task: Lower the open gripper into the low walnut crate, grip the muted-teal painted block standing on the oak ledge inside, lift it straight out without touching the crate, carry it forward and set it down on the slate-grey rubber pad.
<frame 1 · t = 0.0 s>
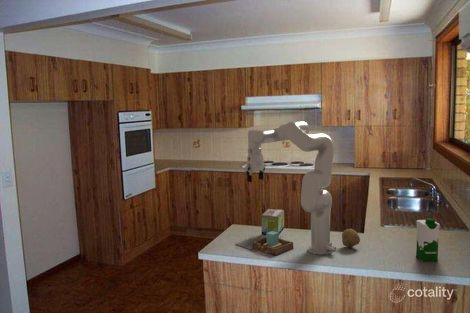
hand: (255, 180, 237), 31 cm above the worktop, fingers open, 9 cm apart
tea box: (273, 237, 231), on the worktop
natural sponge: (350, 248, 211), on the worktop
crate: (272, 248, 213), on the worktop
slate pad: (251, 244, 220), on the worktop
teal block: (272, 244, 213), point 2 cm above the worktop, touching crate
milk carton: (426, 258, 194), on the worktop
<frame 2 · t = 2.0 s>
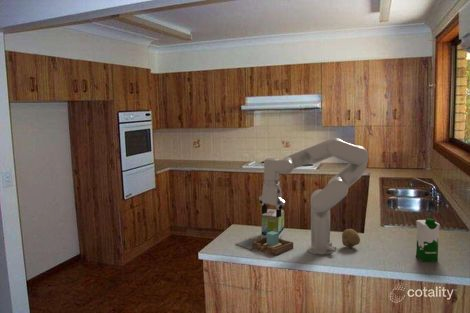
hand: (271, 215, 211), 18 cm above the worktop, fingers open, 9 cm apart
nothing on the worktop moved.
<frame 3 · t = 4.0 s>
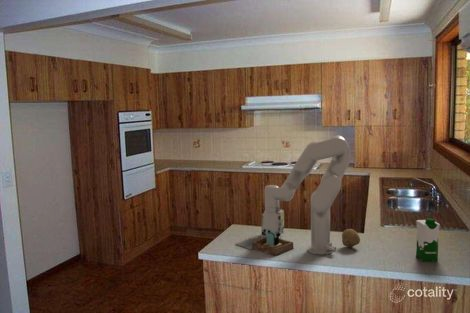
hand: (272, 242, 213), 3 cm above the worktop, fingers closed on teal block, 4 cm apart
teal block: (272, 244, 213), point 3 cm above the worktop, touching crate, gripper
everything else where it was.
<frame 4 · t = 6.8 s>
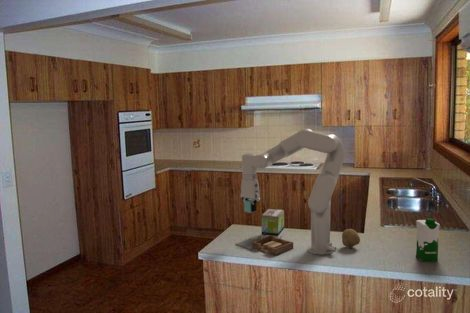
hand: (250, 210, 218), 19 cm above the worktop, fingers closed on teal block, 4 cm apart
teal block: (250, 211, 218), point 18 cm above the worktop, touching gripper
everything else where it was.
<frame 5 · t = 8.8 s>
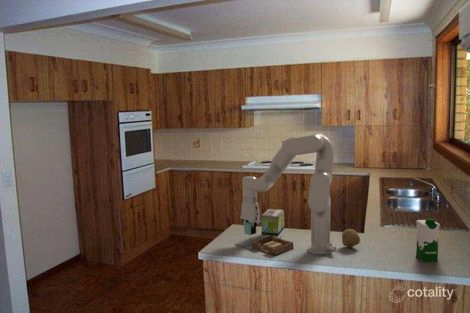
hand: (250, 232, 220), 7 cm above the worktop, fingers closed on teal block, 4 cm apart
teal block: (250, 233, 220), point 6 cm above the worktop, touching gripper
everything else where it was.
when the fingers open (2 cm above the worktop, at t = 10.1 s): teal block drops 1 cm, resting on slate pad.
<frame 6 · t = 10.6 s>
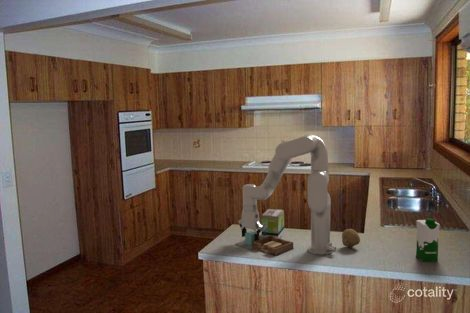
hand: (250, 238, 220), 3 cm above the worktop, fingers open, 9 cm apart
teal block: (251, 243, 220), resting on slate pad
everything else where it was.
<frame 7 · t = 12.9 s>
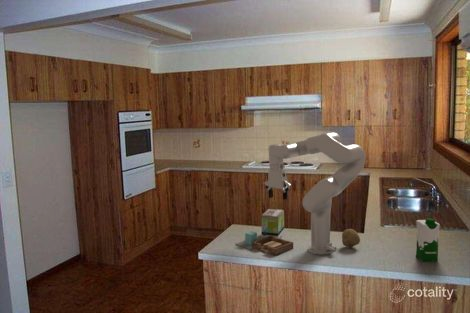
hand: (278, 198, 221), 24 cm above the worktop, fingers open, 9 cm apart
nothing on the worktop moved.
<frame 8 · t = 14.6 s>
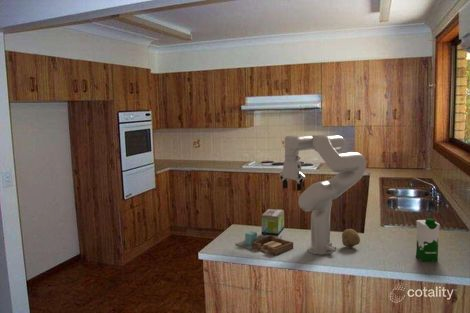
hand: (292, 189, 224), 28 cm above the worktop, fingers open, 9 cm apart
nothing on the worktop moved.
at the end: teal block inside the target area on the slate pad (0.2 cm from its centre), point 0.5 cm above the slate pad's base; teal block tilted 0°; teal block touching slate pad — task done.
